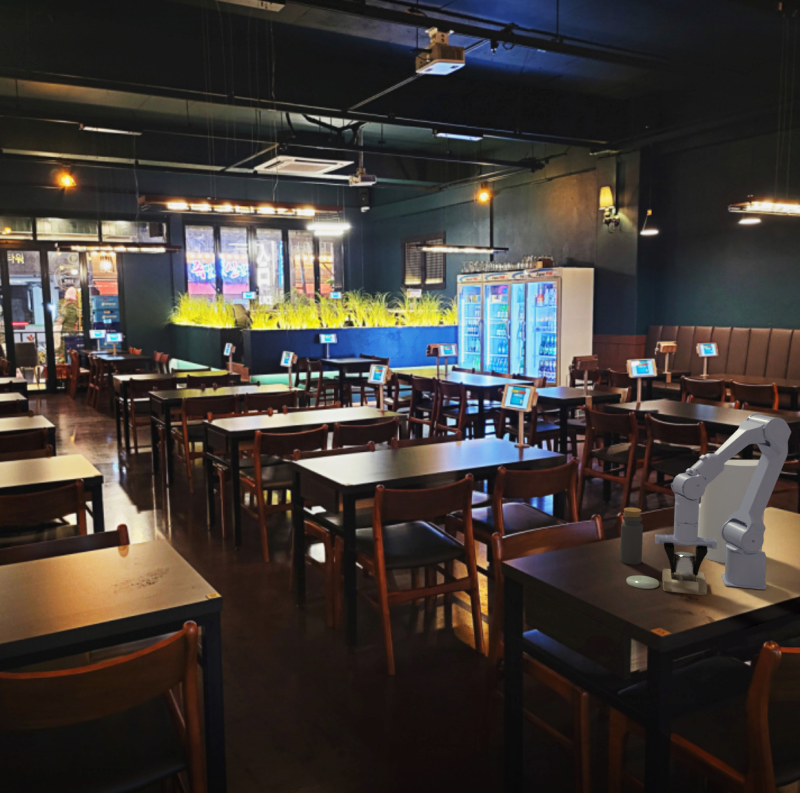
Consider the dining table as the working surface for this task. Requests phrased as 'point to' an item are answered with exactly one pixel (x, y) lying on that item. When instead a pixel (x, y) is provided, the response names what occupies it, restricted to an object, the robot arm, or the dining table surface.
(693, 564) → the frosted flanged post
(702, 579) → the collar
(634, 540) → the bottle
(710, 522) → the cylinder
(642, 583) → the coaster
